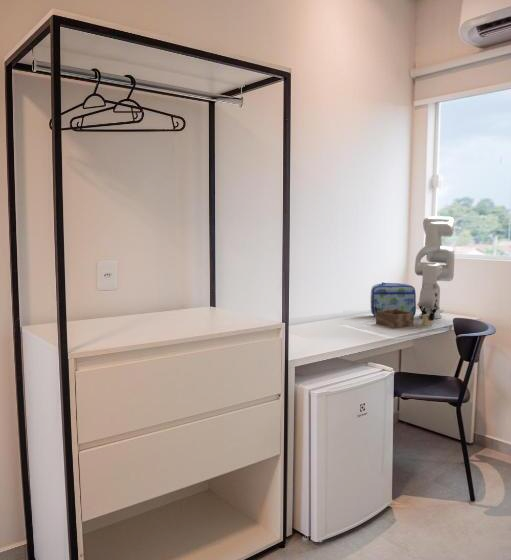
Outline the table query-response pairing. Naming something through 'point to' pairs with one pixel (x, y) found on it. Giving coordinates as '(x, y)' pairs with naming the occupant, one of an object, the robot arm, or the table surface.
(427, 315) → the lid
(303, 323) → the table surface
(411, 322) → the walnut box
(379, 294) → the lunch box
